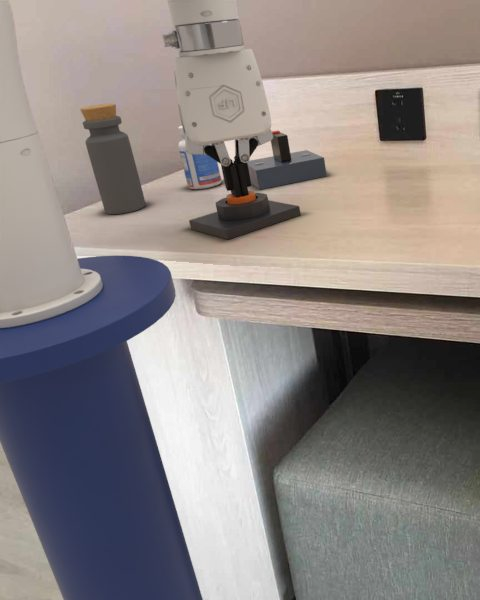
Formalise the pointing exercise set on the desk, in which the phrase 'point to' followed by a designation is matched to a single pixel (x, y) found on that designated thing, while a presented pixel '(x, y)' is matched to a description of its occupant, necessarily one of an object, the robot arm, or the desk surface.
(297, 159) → the panel
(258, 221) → the switch base
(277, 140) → the black toggle lever
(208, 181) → the pill bottle
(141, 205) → the bottle
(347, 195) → the desk surface
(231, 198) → the switch
